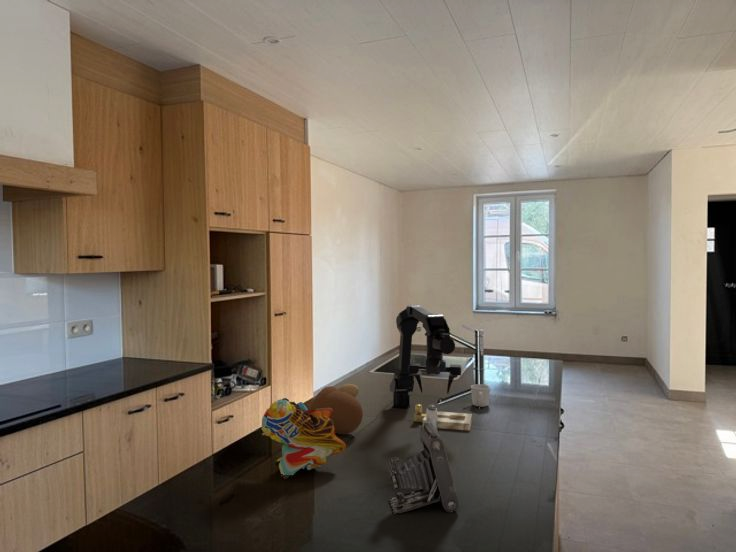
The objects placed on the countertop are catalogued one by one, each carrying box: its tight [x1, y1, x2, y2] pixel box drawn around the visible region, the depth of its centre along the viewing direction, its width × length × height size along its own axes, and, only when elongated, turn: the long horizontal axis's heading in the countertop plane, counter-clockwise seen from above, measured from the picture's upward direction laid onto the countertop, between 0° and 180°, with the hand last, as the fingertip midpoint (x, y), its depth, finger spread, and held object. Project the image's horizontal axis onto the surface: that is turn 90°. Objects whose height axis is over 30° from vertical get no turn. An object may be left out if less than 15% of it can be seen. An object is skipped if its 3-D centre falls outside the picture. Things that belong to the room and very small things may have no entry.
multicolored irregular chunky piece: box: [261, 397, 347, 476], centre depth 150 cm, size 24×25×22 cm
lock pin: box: [413, 403, 426, 423], centre depth 193 cm, size 6×3×6 cm, turn 74°
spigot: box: [425, 404, 439, 433], centre depth 182 cm, size 4×4×9 cm
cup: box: [470, 383, 491, 408], centre depth 213 cm, size 11×8×8 cm
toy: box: [307, 383, 364, 435], centre depth 182 cm, size 24×16×20 cm
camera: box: [388, 423, 460, 514], centre depth 127 cm, size 11×17×20 cm, turn 95°
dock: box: [422, 410, 473, 431], centre depth 191 cm, size 17×12×2 cm
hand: (434, 393), depth 183 cm, fingers open, 9 cm apart
